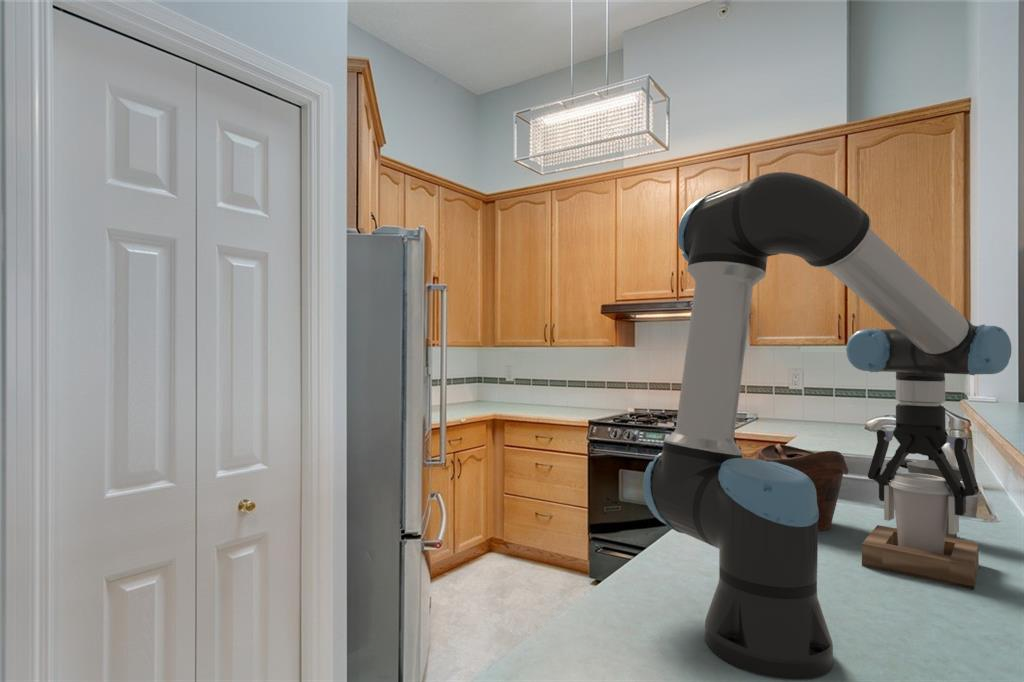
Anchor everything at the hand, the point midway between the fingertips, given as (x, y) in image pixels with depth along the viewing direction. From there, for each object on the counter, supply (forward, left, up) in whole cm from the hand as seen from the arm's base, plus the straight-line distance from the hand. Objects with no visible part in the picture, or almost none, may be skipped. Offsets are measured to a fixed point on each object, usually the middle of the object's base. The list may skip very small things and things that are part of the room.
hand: (920, 525), depth 106 cm
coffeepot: (+22, -10, -7) cm, 25 cm away
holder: (0, 0, -7) cm, 7 cm away
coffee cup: (0, 0, -6) cm, 6 cm away
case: (+24, +15, -7) cm, 29 cm away
